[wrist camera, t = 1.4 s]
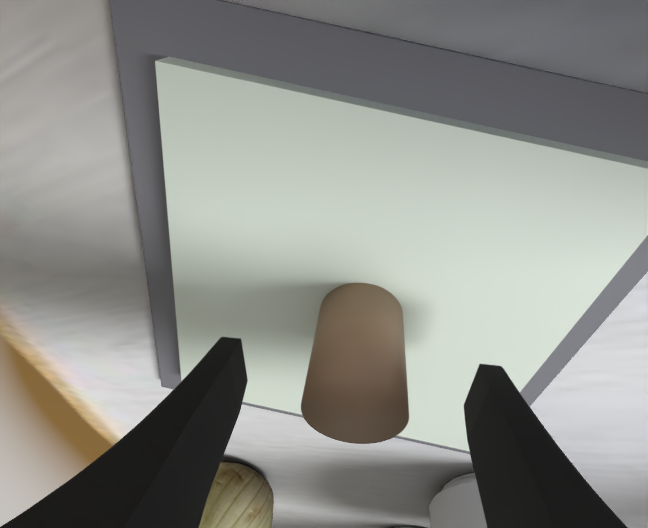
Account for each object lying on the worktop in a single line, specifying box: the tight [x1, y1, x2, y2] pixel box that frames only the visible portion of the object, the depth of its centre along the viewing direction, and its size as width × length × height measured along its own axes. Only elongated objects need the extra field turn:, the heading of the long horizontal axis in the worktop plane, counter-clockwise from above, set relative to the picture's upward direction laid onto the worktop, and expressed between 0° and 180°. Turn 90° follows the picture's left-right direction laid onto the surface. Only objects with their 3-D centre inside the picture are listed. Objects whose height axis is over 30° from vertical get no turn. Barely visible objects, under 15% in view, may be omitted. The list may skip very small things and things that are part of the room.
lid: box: [155, 57, 648, 451], centre depth 12 cm, size 14×14×5 cm
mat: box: [109, 0, 648, 454], centre depth 15 cm, size 17×17×1 cm
